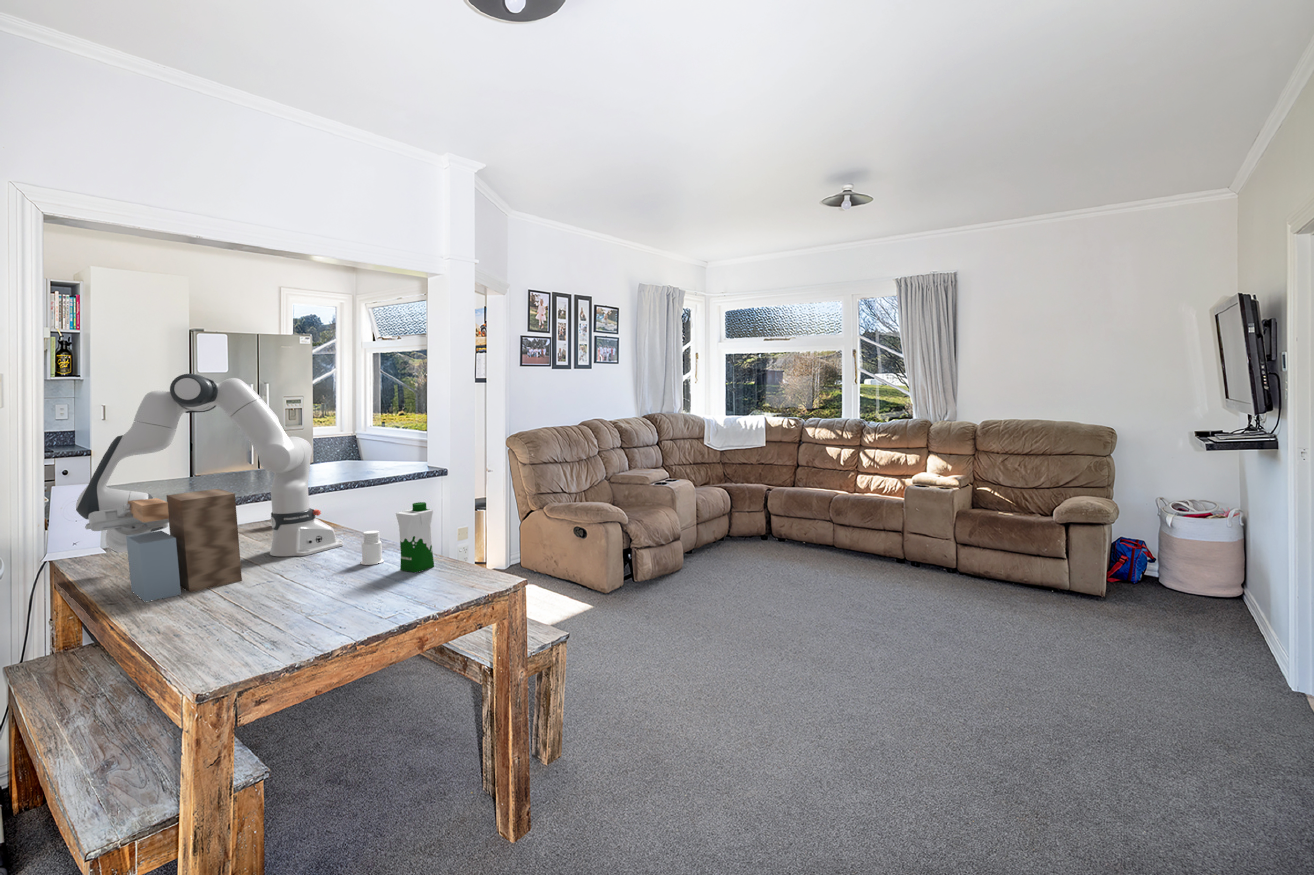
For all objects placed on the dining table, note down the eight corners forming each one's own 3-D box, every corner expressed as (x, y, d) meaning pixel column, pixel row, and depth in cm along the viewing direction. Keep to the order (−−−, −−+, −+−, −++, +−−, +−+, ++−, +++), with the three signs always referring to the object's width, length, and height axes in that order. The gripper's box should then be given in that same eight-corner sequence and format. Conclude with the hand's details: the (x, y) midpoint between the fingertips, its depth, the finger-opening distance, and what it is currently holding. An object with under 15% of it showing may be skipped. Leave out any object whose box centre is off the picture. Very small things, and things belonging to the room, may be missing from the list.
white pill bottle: (374, 566, 204) (373, 534, 203) (354, 565, 205) (353, 534, 205) (389, 560, 212) (388, 529, 211) (370, 559, 213) (369, 529, 212)
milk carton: (438, 566, 203) (435, 503, 201) (415, 574, 195) (412, 508, 193) (418, 562, 207) (415, 501, 205) (395, 570, 199) (391, 506, 197)
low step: (166, 584, 189) (161, 530, 187) (180, 594, 180) (175, 537, 179) (131, 591, 183) (126, 536, 181) (145, 602, 174) (139, 544, 172)
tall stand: (225, 571, 201) (218, 488, 198) (241, 580, 192) (234, 493, 189) (174, 582, 191) (166, 495, 188) (189, 592, 182) (181, 500, 179)
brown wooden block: (147, 508, 190) (146, 493, 189) (168, 518, 176) (167, 502, 176) (123, 512, 185) (122, 496, 185) (143, 522, 172) (141, 505, 172)
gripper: (82, 519, 186) (88, 500, 178) (168, 508, 202) (178, 490, 193) (86, 540, 185) (93, 522, 176) (173, 526, 200) (183, 509, 192)
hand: (138, 505), depth 185 cm, fingers closed on brown wooden block, 3 cm apart
